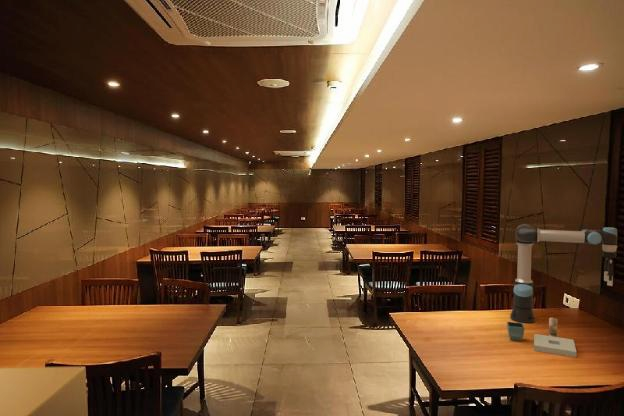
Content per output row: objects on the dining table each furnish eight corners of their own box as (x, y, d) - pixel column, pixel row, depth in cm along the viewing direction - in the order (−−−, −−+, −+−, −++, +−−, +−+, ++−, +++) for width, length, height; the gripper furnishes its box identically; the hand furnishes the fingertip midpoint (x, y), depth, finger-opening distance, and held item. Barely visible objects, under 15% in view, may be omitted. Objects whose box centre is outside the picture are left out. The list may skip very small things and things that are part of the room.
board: (534, 350, 231) (534, 345, 231) (534, 338, 249) (534, 333, 248) (576, 357, 222) (576, 352, 221) (573, 344, 239) (573, 339, 239)
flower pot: (522, 337, 251) (522, 322, 250) (524, 342, 242) (524, 327, 242) (506, 335, 254) (506, 321, 253) (508, 340, 245) (508, 326, 245)
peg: (548, 338, 248) (549, 319, 248) (548, 336, 252) (549, 317, 251) (557, 340, 246) (557, 320, 245) (556, 337, 250) (557, 318, 249)
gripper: (619, 254, 256) (618, 288, 258) (613, 248, 278) (611, 279, 280) (605, 253, 260) (604, 286, 261) (599, 248, 282) (598, 278, 283)
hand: (608, 283), depth 270 cm, fingers open, 13 cm apart
